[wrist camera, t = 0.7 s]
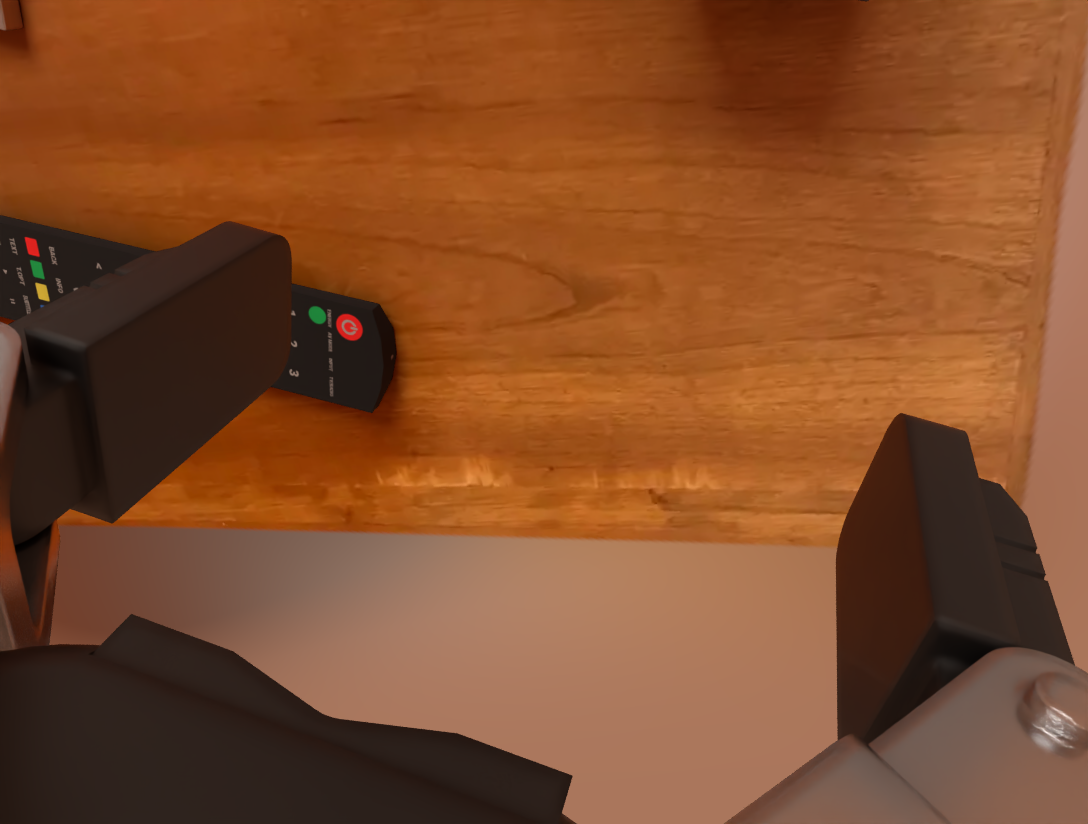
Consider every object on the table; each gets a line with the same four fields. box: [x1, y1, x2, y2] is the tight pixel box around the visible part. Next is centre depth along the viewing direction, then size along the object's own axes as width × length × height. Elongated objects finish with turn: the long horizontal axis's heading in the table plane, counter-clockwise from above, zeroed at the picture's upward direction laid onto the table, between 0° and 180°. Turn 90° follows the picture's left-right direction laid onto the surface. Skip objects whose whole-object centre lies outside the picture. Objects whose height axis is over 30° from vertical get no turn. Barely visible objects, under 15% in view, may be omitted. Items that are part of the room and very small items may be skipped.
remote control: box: [0, 215, 396, 413], centre depth 41 cm, size 5×24×1 cm, turn 83°
